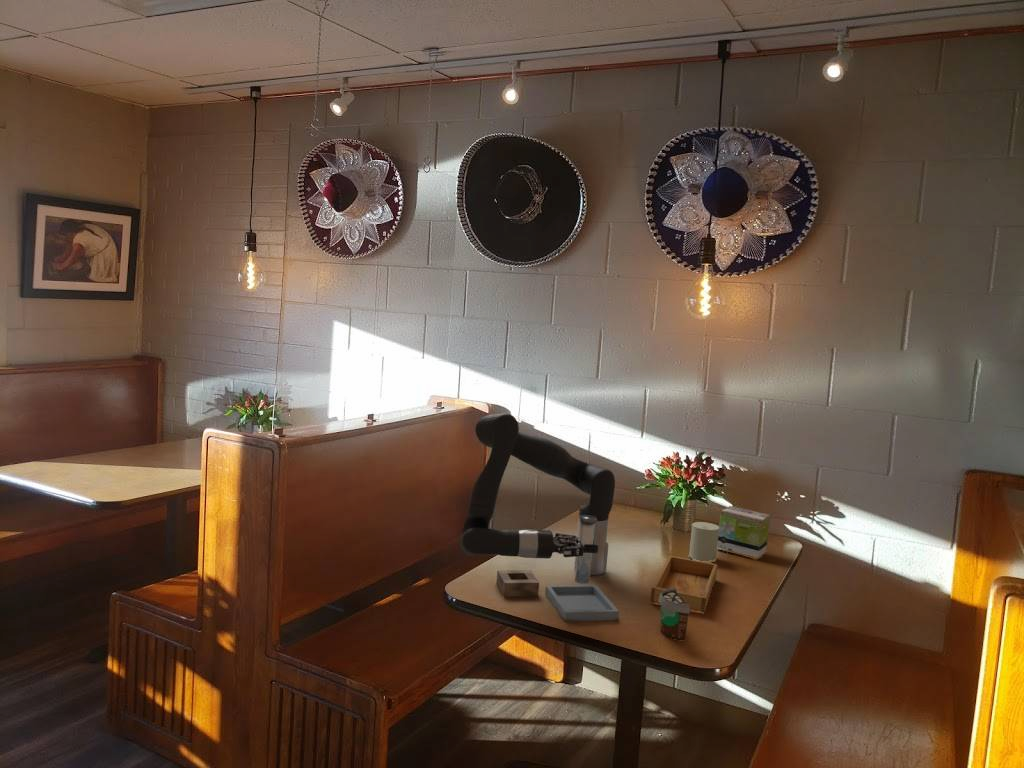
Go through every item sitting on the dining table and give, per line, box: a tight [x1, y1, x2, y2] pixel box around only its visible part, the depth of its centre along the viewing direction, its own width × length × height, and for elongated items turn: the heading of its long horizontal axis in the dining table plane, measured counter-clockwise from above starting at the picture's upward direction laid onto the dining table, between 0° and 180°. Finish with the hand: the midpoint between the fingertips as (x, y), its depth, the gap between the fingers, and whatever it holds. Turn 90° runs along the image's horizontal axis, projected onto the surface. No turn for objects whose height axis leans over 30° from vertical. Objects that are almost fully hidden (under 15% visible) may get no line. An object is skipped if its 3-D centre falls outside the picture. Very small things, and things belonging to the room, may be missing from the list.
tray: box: [649, 555, 718, 613], centre depth 236 cm, size 31×15×6 cm, turn 160°
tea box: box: [717, 505, 771, 557], centre depth 277 cm, size 15×10×15 cm
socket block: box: [496, 569, 540, 598], centre depth 227 cm, size 10×10×4 cm
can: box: [688, 521, 719, 561], centre depth 267 cm, size 9×9×12 cm
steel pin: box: [574, 515, 597, 585], centre depth 216 cm, size 5×5×18 cm
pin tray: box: [544, 584, 620, 623], centre depth 218 cm, size 15×19×2 cm
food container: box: [658, 588, 691, 642], centre depth 205 cm, size 12×6×10 cm, turn 5°
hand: (595, 546), depth 217 cm, fingers closed on steel pin, 4 cm apart
